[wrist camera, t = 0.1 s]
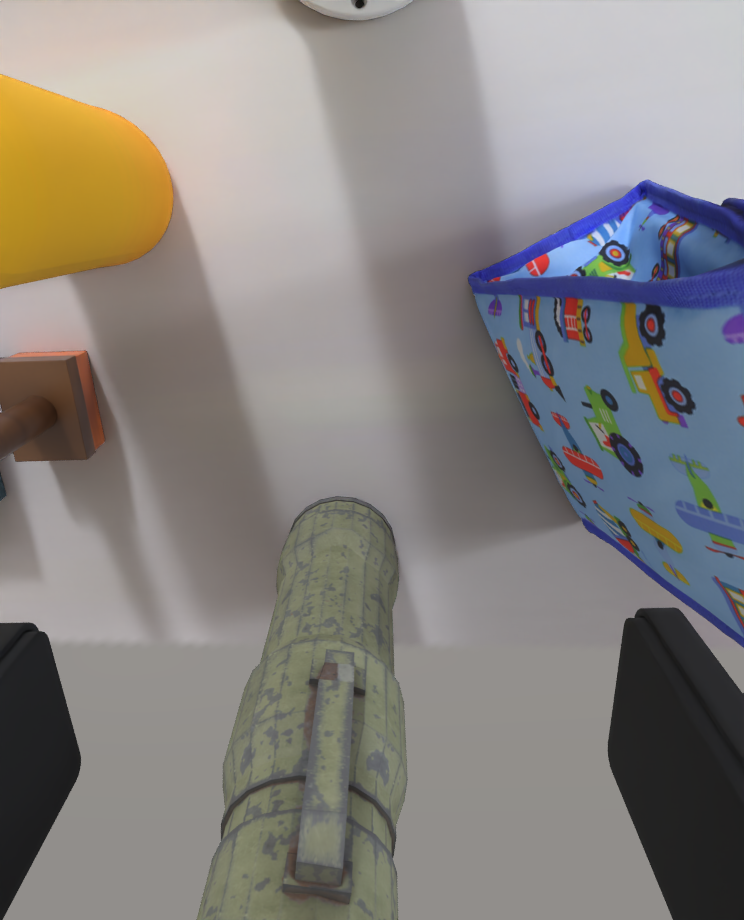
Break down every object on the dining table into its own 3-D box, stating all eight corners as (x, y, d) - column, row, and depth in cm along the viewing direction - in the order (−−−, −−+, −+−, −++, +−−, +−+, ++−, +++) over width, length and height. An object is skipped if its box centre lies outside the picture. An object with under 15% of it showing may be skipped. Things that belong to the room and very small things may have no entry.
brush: (17, 351, 46) (-108, 400, 34) (88, 349, 45) (-12, 397, 34) (39, 444, 48) (-68, 520, 37) (107, 442, 48) (20, 517, 36)
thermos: (283, 602, 53) (133, 1220, 21) (290, 473, 49) (112, 1002, 16) (388, 611, 53) (401, 1236, 21) (404, 484, 49) (451, 1026, 17)
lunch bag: (745, 449, 48) (1215, 758, 21) (577, 526, 50) (804, 889, 23) (646, 173, 41) (1158, 107, 14) (456, 279, 43) (583, 395, 17)
